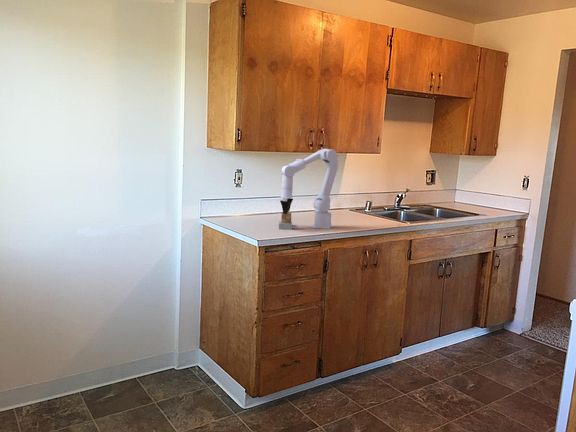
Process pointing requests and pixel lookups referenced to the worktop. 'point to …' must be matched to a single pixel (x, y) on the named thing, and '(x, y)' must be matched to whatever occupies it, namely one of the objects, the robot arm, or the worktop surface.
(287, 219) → the walnut block
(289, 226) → the slate base block
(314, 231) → the worktop surface
